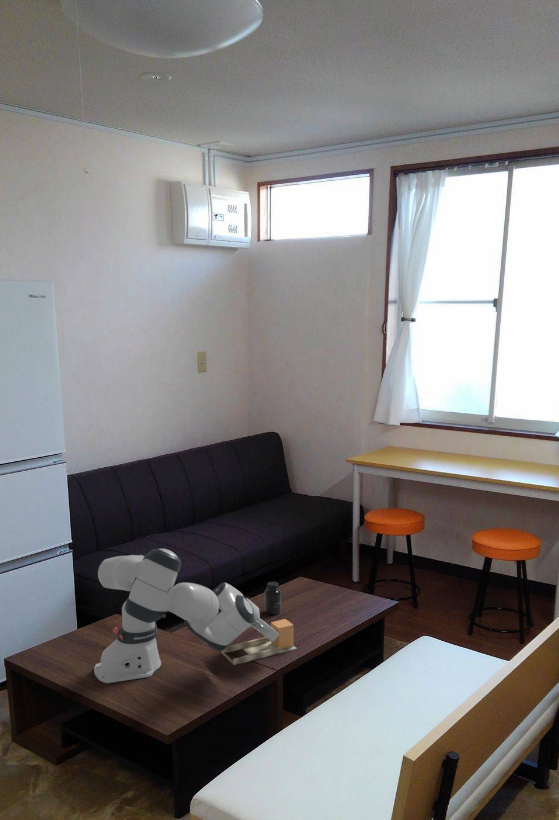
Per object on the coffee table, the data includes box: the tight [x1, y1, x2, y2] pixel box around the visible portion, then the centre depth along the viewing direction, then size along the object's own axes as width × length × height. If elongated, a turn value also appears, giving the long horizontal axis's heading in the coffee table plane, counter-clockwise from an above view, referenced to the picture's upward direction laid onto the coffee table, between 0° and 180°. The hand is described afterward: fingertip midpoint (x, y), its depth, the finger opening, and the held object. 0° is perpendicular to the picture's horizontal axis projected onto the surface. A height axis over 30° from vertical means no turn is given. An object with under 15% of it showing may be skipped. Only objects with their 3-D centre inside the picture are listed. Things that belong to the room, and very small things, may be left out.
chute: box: [221, 636, 298, 666], centre depth 250 cm, size 25×10×4 cm, turn 119°
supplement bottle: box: [264, 581, 282, 616], centre depth 288 cm, size 7×7×12 cm
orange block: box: [270, 618, 295, 650], centre depth 254 cm, size 6×6×8 cm
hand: (271, 635), depth 253 cm, fingers closed
